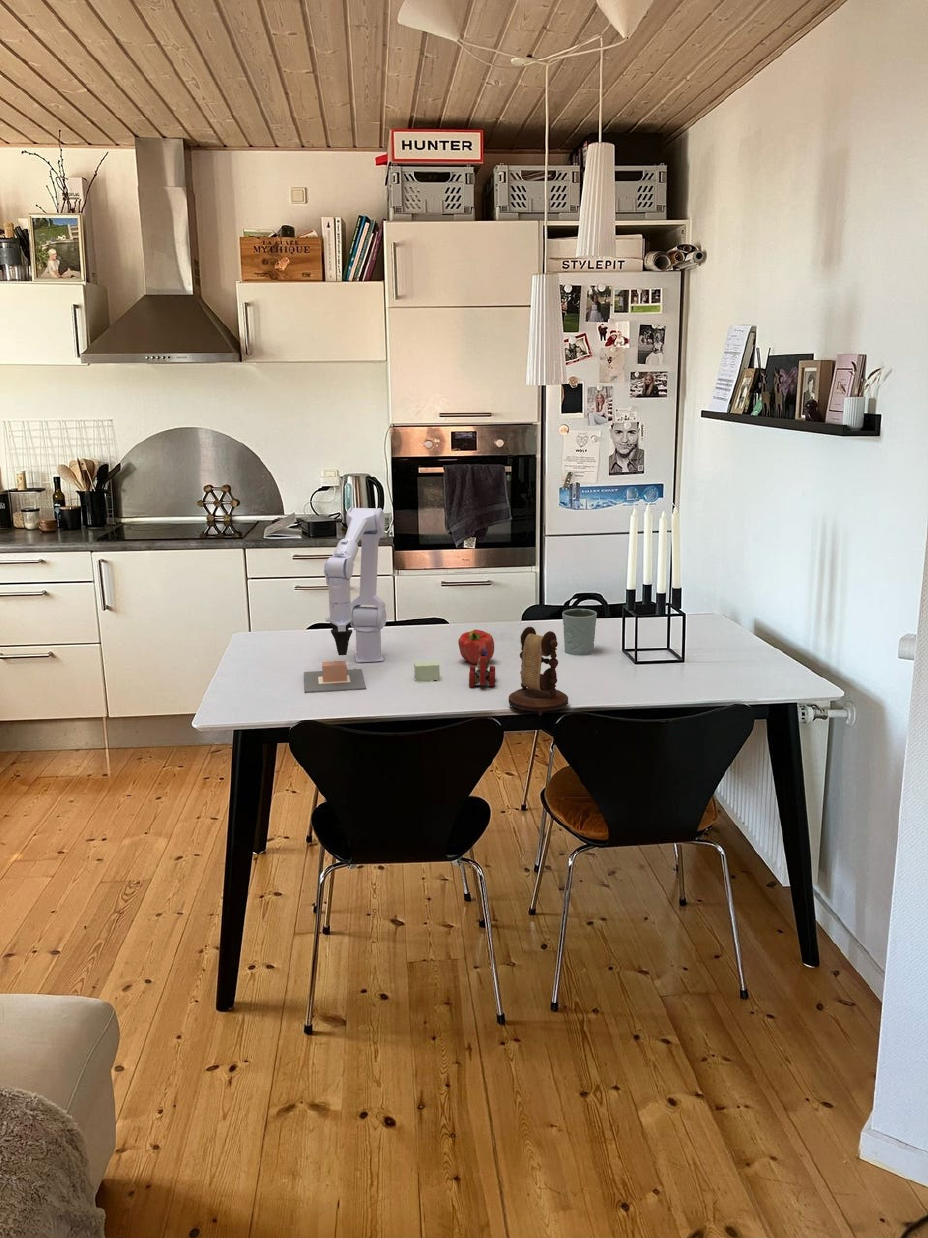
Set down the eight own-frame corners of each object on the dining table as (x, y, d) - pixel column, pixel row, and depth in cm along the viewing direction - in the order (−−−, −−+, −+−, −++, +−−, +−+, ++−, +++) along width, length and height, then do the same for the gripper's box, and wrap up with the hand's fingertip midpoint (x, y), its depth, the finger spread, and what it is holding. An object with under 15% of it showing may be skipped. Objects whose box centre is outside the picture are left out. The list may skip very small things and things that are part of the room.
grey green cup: (595, 647, 300) (596, 608, 297) (596, 656, 290) (597, 616, 288) (561, 647, 301) (562, 608, 298) (561, 656, 291) (562, 616, 289)
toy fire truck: (468, 690, 261) (468, 652, 258) (469, 676, 273) (469, 640, 270) (495, 690, 260) (495, 652, 258) (495, 676, 272) (495, 640, 270)
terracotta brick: (322, 677, 271) (321, 661, 270) (346, 676, 272) (345, 660, 271) (323, 682, 267) (322, 666, 266) (347, 680, 268) (346, 664, 267)
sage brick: (414, 677, 273) (414, 661, 272) (437, 676, 273) (437, 660, 272) (416, 682, 268) (415, 666, 267) (439, 681, 269) (439, 665, 268)
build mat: (303, 673, 277) (303, 671, 277) (361, 670, 280) (361, 668, 280) (304, 693, 260) (304, 691, 260) (366, 689, 262) (366, 687, 262)
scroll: (496, 707, 247) (496, 629, 242) (535, 694, 257) (536, 618, 252) (541, 721, 237) (541, 640, 232) (580, 706, 247) (581, 628, 242)
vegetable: (487, 669, 279) (487, 634, 277) (452, 666, 283) (452, 632, 280) (498, 659, 289) (498, 625, 287) (465, 656, 293) (464, 623, 290)
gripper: (324, 596, 271) (326, 644, 274) (325, 608, 257) (327, 659, 260) (350, 595, 272) (351, 643, 275) (352, 607, 258) (354, 657, 261)
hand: (341, 651), depth 268 cm, fingers open, 7 cm apart
